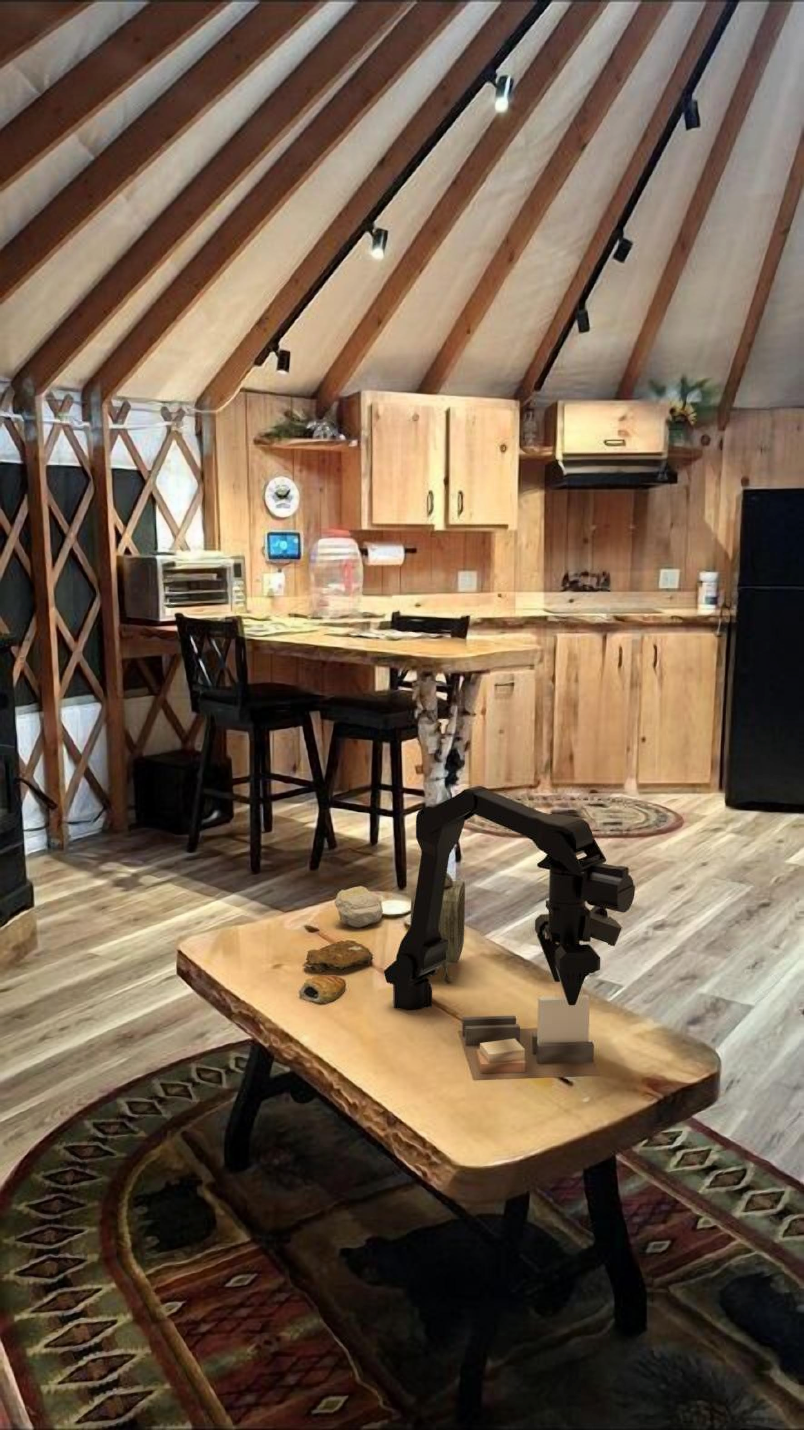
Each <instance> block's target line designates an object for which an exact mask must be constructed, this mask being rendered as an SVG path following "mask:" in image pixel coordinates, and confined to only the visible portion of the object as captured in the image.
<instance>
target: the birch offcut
mask: <svg viewBox="0 0 804 1430" xmlns="http://www.w3.org/2000/svg"><path fill="white" fill-rule="evenodd" d="M480 1053H481V1054H482V1055H483V1057H484V1058H485V1059H486V1060H487V1062H488V1063H489V1064H490V1063H497V1062H504V1061H511V1060H518V1059H525V1049H524V1048H523V1047H522V1046H521V1045H520V1044H519V1043H518V1042H517V1040H516V1039H507V1040H500V1041H493V1042H485V1043H480Z"/></svg>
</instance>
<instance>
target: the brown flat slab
mask: <svg viewBox="0 0 804 1430" xmlns="http://www.w3.org/2000/svg"><path fill="white" fill-rule="evenodd" d="M373 956H374V954H373V952H371V951H370V948H368V947H366V946H364V945H363V944H361V943H359V942H358V943H357V942H356V941H354V940H351V939H350V940H349V939H346V940H340V941H337V942H333V943H331V944H328V945H325V946H324V947H321V948H319V949H316V948H315V949H314V948H313V949H310V950H308V951H307V954H306V961H305V962H304V963H303V964H302V965H301V967H305V969H306V970H307V971H310V972H313V971H314V973H321V972H322V971H323V970H328V969H333V970H336V971H338V970H340V969H341V970H345V969H346V968H347V967H350V966H355V965H367V964H368V965H371V963H372V960H373V959H374V957H373Z"/></svg>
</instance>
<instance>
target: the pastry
mask: <svg viewBox="0 0 804 1430" xmlns="http://www.w3.org/2000/svg"><path fill="white" fill-rule="evenodd" d="M346 986H347V983H346V979H344V978H343V977H340V976H338V975H336V974H331V975H330V974H329V975H328V974H326V975H315V976H313V977H312V978H308V979H306V980H305V982H303V985H302V986H301V987H300V989H299V990H298V994H299V996H300V998H301V997H303V998H302V1000H304V999H305V1000H304V1001H307V1000H309V1001H308V1002H313V1001H314V1003H316V1002H317V1004H326V1003H325V1002H327V1003H330V1001H331V1002H332V1001H333V1000H336V999H338V998H339V997H340V996H341V995H342V994H343V993H344V992H345V991H346ZM338 996H339V997H338ZM337 997H338V998H337Z"/></svg>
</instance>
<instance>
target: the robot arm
mask: <svg viewBox="0 0 804 1430" xmlns="http://www.w3.org/2000/svg"><path fill="white" fill-rule="evenodd" d="M475 815H476V816H478V817H480V818H482V819H485V820H487V821H489V822H492V823H494V824H496V825H498V826H501V827H503V828H506V829H508V830H510V831H513V832H515V833H517V834H520V835H521V836H524V837H526V838H528V839H530V840H531V841H532V842H533V843H534V845H535V846H536V847H537V849H538V850H540V851H542V852H543V853H545V854H546V855H545V857H544V858H543V859H542V860H540V861H539V862H537V864H536V866H537V867H538V868H540V869H544V870H549V879H548V880H549V883H548V885H549V886H548V899H547V900H545V908H546V909H547V911H548V913H543V914H542V913H541V914H539V915H538V916H537V917H536V918H535V919H534V932H535V933H536V934H537V935H536V938H537V940H538V942H539V944H540V947H541V949H542V952H543V954H544V959H545V960H546V963H547V965H548V968H549V970H550V973H551V975H552V979H553V981H554V982H555V983H560V985H561V988H562V990H563V994H564V996H565V997H566V1000H567V1002H568V1005H576V1002H577V999H578V996H579V995H580V993H581V990H582V988H583V984H584V982H585V978H586V977H588V976H589V975H591V974H595V973H596V972H598V971H600V970H601V956H600V955H599V954H598V953H597V952H596V951H597V950H595V949H594V948H593V947H592V946H591V945H590V944H580V943H581V942H583V943H591V938H592V939H593V940H597V941H600V942H602V943H603V942H604V943H606V944H607V945H609V946H612V947H615V946H616V944H617V942H618V939H619V936H620V934H621V932H622V928H623V927H622V926H621V924H619V922H618V921H617V920H615V919H614V918H613V917H612V916H608V910H609V911H614V912H618V913H627V911H629V910H630V908H631V907H632V905H633V902H634V898H635V895H636V892H635V891H636V886H635V885H634V880H633V878H632V876H631V875H630V874H629V873H630V872H629V867H628V866H624V865H613V864H607V863H606V862H607V858H606V857H605V855H604V853H603V851H602V849H601V848H600V846H599V844H598V842H597V841H596V839H595V837H594V835H593V831H592V829H591V827H590V824H589V823H588V822H587V821H586V820H584V819H583V818H580V817H575V816H570V815H566V814H555V813H546V812H543V811H539V810H537V809H535V808H533V807H531V806H528V805H525V804H523V803H521V802H518V801H516V800H513V799H511V798H508V797H506V796H503V795H501V794H499V793H496V792H494V791H491V790H489V788H487V787H486V786H483V785H476V786H473V787H469V788H465V789H462V791H460V792H459V793H458V794H456V795H455V796H453V797H450V798H449V799H447V800H445V801H444V800H443V801H441V802H438V803H434V804H431V805H427V806H424V807H422V808H420V810H418V811H417V813H416V816H415V839H416V841H417V844H418V845H419V849H420V850H421V852H420V853H421V854H420V860H419V861H420V862H419V868H418V872H417V873H418V874H417V881H416V886H415V889H416V894H415V901H414V908H413V914H412V921H411V926H409V928H408V930H407V931H406V933H405V934H404V936H403V938H402V939H401V941H400V944H399V947H398V949H397V950H398V951H397V954H396V957H395V960H394V961H393V962H392V963H391V964H390V965H389V966H388V967H386V969H384V970H383V974H384V978H385V982H386V983H387V984H390V985H392V1003H393V1008H394V1009H400V1010H402V1011H419V1010H422V1009H425V1008H429V1007H430V1008H431V1007H432V1006H433V987H432V984H431V983H430V980H429V978H431V977H432V976H435V975H436V973H437V972H438V971H437V970H438V968H439V967H442V966H441V965H442V963H443V961H444V960H446V959H447V958H446V949H447V946H448V940H447V939H444V938H442V936H441V934H440V931H439V920H440V914H441V907H442V900H443V894H444V887H445V881H446V874H447V873H448V868H449V860H450V855H451V853H452V851H453V849H454V848H455V846H456V845H457V843H458V842H459V840H460V838H461V835H462V831H463V829H464V825H465V822H466V821H467V820H469V819H471V818H472V817H474V816H475ZM582 854H585V856H583V857H580V858H578V856H579V855H582ZM586 903H587V904H588V905H589V906H593V907H592V908H590V909H589V908H588V906H587V905H586Z"/></svg>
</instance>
